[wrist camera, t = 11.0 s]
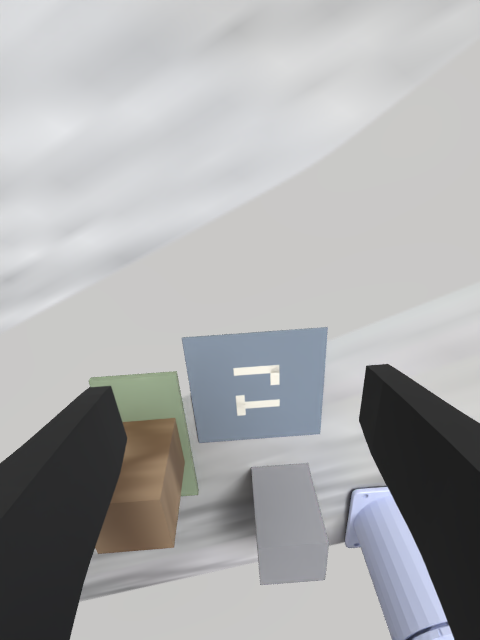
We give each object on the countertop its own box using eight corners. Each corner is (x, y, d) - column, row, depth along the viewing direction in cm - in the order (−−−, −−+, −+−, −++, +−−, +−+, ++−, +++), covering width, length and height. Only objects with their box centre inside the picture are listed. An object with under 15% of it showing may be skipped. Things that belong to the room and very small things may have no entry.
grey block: (307, 462, 26) (328, 542, 21) (306, 498, 28) (324, 579, 23) (251, 466, 26) (257, 548, 21) (253, 502, 28) (260, 585, 23)
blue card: (327, 327, 20) (327, 328, 20) (319, 432, 25) (320, 434, 24) (182, 337, 20) (181, 338, 20) (199, 441, 25) (199, 443, 24)
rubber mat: (176, 371, 22) (175, 375, 21) (198, 490, 27) (198, 495, 27) (90, 377, 21) (88, 381, 21) (130, 495, 27) (128, 500, 27)
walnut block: (175, 417, 23) (159, 499, 18) (184, 462, 25) (173, 547, 20) (110, 423, 23) (75, 506, 18) (125, 467, 25) (98, 553, 20)
